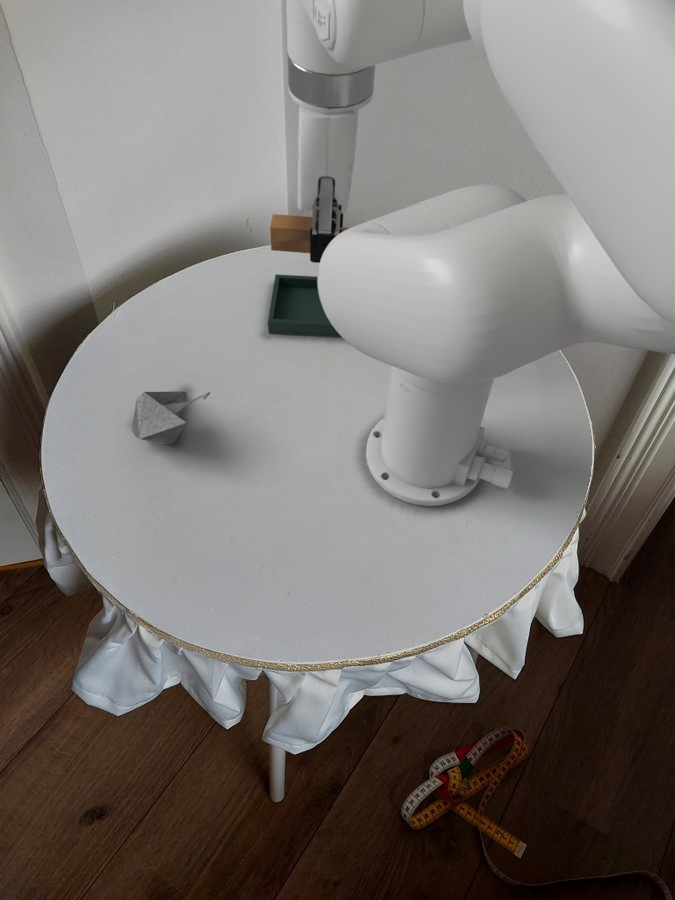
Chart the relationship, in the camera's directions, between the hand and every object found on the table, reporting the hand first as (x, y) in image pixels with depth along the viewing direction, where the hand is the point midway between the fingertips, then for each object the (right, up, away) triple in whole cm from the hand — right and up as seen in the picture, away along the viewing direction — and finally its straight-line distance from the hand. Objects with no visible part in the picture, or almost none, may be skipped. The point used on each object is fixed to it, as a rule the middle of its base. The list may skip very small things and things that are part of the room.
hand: (326, 244), depth 77 cm
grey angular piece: (-17, -20, +2) cm, 26 cm away
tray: (+2, -5, +14) cm, 14 cm away
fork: (+1, 0, 0) cm, 1 cm away
